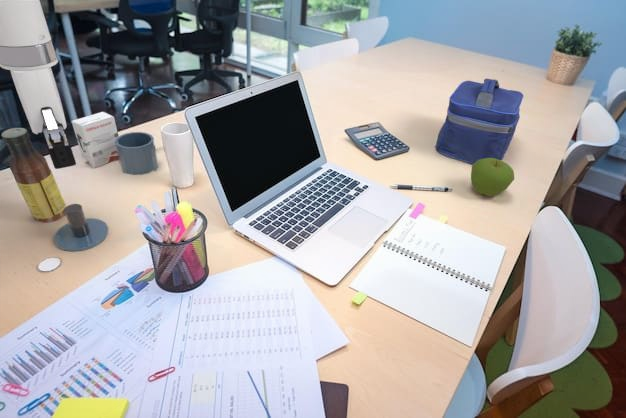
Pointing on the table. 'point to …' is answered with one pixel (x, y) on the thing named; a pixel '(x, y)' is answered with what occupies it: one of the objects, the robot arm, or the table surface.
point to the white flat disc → (49, 264)
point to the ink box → (96, 138)
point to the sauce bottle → (34, 177)
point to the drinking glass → (179, 153)
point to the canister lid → (80, 230)
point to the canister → (136, 153)
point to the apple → (491, 176)
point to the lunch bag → (479, 121)
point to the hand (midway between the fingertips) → (61, 153)
